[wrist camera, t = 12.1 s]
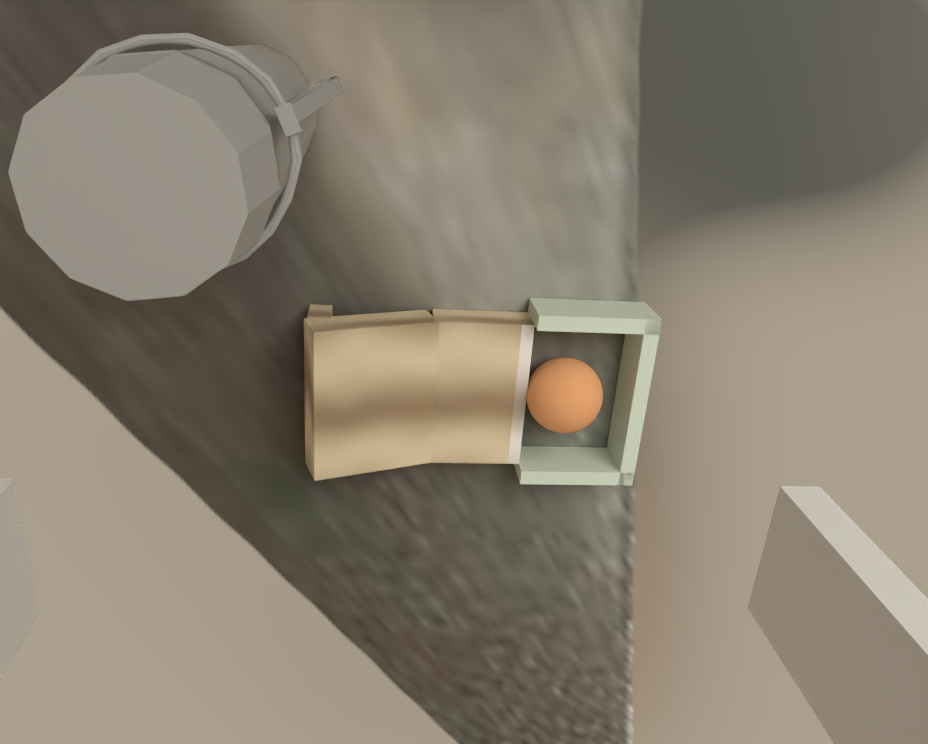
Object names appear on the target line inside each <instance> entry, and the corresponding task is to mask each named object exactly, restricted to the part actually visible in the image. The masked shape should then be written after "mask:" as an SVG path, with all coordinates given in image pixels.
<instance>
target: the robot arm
mask: <svg viewBox="0 0 928 744" xmlns="http://www.w3.org/2000/svg"><path fill="white" fill-rule="evenodd" d="M748 609H749V610H750V612H751V613H752V615H753V616H754V618H755V620H756V621H757V623H758V624H759V626H760V627H761V629H762V631H763V632H764V634H765V635H766V637H767V639H768V640H769V642H770V643H771V645H772V646H773V648H774V649H775V651H776V653H777V654H778V656H779V658H780V659H781V661H782V662H783V664H784V665H785V667H786V668H787V670H788V672H789V673H790V675H791V676H792V678H793V679H794V681H795V683H796V684H797V686H798V687H799V689H800V690H801V692H802V694H803V695H804V697H805V698H806V700H807V701H808V703H809V705H810V706H811V708H812V709H813V711H814V713H815V714H816V716H817V717H818V719H819V720H820V722H821V724H822V725H823V727H824V728H825V730H826V732H827V733H828V735H829V736H830V738H831V739H832V741H833V743H834V744H928V599H927V598H926V597H925V596H924V595H923V594H922V593H921V591H920V590H919V589H918V588H917V587H916V586H915V585H914V584H913V583H912V582H911V581H910V580H909V579H908V578H907V577H906V576H905V575H904V574H903V573H902V572H901V571H900V570H899V569H898V568H897V567H896V565H895V564H894V563H893V562H891V560H890V559H889V558H888V557H887V556H886V555H885V554H884V553H883V552H882V551H881V550H880V549H879V548H878V547H877V546H876V545H875V544H874V543H873V542H872V541H871V539H870V538H869V537H867V535H866V534H865V533H864V532H863V531H862V530H861V529H860V528H859V527H858V526H857V525H856V524H855V523H854V522H853V521H852V520H851V519H850V518H849V517H848V516H847V515H846V513H845V512H844V511H843V510H842V509H841V508H840V507H839V506H838V505H837V504H836V503H835V502H834V501H833V500H832V499H831V498H830V497H829V496H828V495H827V494H826V493H825V492H824V491H823V490H822V489H821V487H793V486H792V487H790V486H789V487H788V486H787V487H786V486H780V489H779V493H778V496H777V500H776V504H775V508H774V511H773V515H772V519H771V523H770V526H769V530H768V534H767V538H766V541H765V545H764V549H763V553H762V556H761V561H760V564H759V568H758V571H757V575H756V579H755V583H754V586H753V590H752V594H751V598H750V602H749V605H748ZM38 614H39V612H38V607H37V601H36V595H35V590H34V584H33V579H32V573H31V568H30V562H29V557H28V551H27V546H26V541H25V535H24V529H23V523H22V518H21V512H20V506H19V502H18V495H17V490H16V485H15V479H14V478H0V678H1V677H2V675H3V673H4V672H5V670H6V668H7V667H8V665H9V663H10V661H11V660H12V658H13V656H14V655H15V653H16V651H17V650H18V648H19V646H20V644H21V643H22V641H23V639H24V638H25V636H26V634H27V633H28V631H29V629H30V627H31V626H32V624H33V623H34V621H35V619H36V617H37V616H38Z"/></svg>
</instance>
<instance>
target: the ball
mask: <svg viewBox="0 0 928 744" xmlns="http://www.w3.org/2000/svg"><path fill="white" fill-rule="evenodd" d="M526 400H527V405H528V408H529V410H530V413H531V414H532V416H533V417H534V419H535V420H536V421H537V422H538V423H539V424H540V425H541V426H543V427H544V428H546V429H548V430H550V431H553V432H557V433H572V432H576V431H579V430H581V429H583V428H585V427H586V426H588V425H589V424H590V423H591V422H592V421H593V420H594V419H595V418H596V416H597V415H598V413H599V411H600V408H601V405H602V401H603V390H602V385H601V382H600V380H599V378H598V376H597V374H596V373H595V371H594V370H593V369H592V368H591V367H590V366H588V365H587V364H586V363H584V362H582V361H580V360H578V359H575V358H570V357H558V358H554V359H551V360H549V361H547V362H545V363H543V364H542V365H540V366H539V367H538V368H537V369H536V370H535V371H534V373H533V374H532V376H531V377H530V380H529V382H528V389H527V398H526Z"/></svg>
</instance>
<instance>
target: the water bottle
mask: <svg viewBox="0 0 928 744" xmlns="http://www.w3.org/2000/svg"><path fill="white" fill-rule="evenodd" d="M161 44H170V45H187V46H191V47H195V48H199V49H190V50H180V51H177V50H164V51H150V52H136V53H122V52H125V51H128V50H132V49H136V48H139V47H144V46H152V45H161ZM119 53H121V54H119ZM104 60H105V61H104ZM103 61H104V62H103ZM342 92H343V90H342V88H341V84H340V82H339V80H338V77H337V76H335V77H331V78H329V79H326V80H323V81H320V82H318V83H315V84H313V85H310V83H309V82H308V81H307V79H306V78H305V76H304V75H303V74H302V72H301V71H300V69H299V68H298V67H297V65H296V64H295V62H294V61H293V60H292V59H290V58H288V57H286V56H284V55H282V54H280V53H278V52H276V51H274V50H272V49H270V48H268V47H266V46H264V45H262V44H249V45H235V46H224V45H221V44H219V43H216V42H213V41H210V40H208V39H205V38H202V37H199V36H196V35H194V34H191V33H170V34H145V35H138V36H135V37H132V38H130V39H127V40H124V41H121V42H118V43H115V44H113V45H110V46H107V47H104V48H101V49H98V50H97V51H96V52H95V53H94V54H93V55H92V56H91V57H90V58H89V59H88V60H87V61H86V62H85V63H84V64H83V65H81V66H80V68H79V69H78V70H76V71H75V72H74V73H73V74H72V75H71V76H70V77H69V78H68V80H67V81H66V82H64V83H63V84H62V85H61V86H59V87H58V88H57V89H55V90H54V91H53V92H52V93H50V94H49V95H48V96H47V97H45V98H44V99H43V100H42V101H40V102H39V103H38V104H36V105H35V106H34V107H33V108H31V109H30V110H29V111H28V112H26V113H25V114H24V116H23V120H22V123H21V127H20V131H19V134H18V138H17V142H16V145H15V149H14V152H13V156H12V160H11V163H10V167H9V170H8V173H9V177H10V180H11V183H12V187H13V190H14V193H15V197H16V200H17V204H18V207H19V210H20V214H21V217H22V221H23V224H24V227H25V231H26V233H27V234H28V235H29V236H30V237H31V238H32V239H33V240H34V241H35V242H36V243H37V244H38V245H39V246H40V247H41V248H42V249H43V251H44V252H45V253H46V254H47V255H48V256H49V257H50V258H51V259H52V260H53V261H54V262H55V263H56V264H57V265H58V266H59V267H60V269H61V270H62V271H63V272H64V273H65V274H66V275H67V276H68V277H69V278H70V279H73V280H75V281H78V282H81V283H83V284H86V285H88V286H91V287H93V288H96V289H98V290H101V291H103V292H106V293H108V294H111V295H113V296H116V297H118V298H121V299H124V300H126V301H132V300H143V299H154V298H166V297H177V296H185V295H186V294H188V293H189V292H190V291H192V290H193V289H195V288H196V287H197V286H199V285H200V284H202V283H203V282H204V281H206V280H207V279H209V278H210V277H211V276H213V275H214V274H216V273H217V272H218V271H220V270H221V269H224V268H226V267H229V266H231V265H233V264H236V263H238V262H241V261H243V260H245V259H247V258H248V257H249V256H250V255H251V254H252V253H253V252H254V251H256V250H257V249H258V248H259V247H260V246H261V245H262V244H263V243H264V242H265V241H266V240H267V239H268V238H269V237H270V236H272V235H273V234H274V232H275V230H276V229H277V227H278V225H279V223H280V221H281V219H282V218H283V216H284V214H285V212H286V210H287V209H288V207H289V205H290V203H291V201H292V199H293V195H294V191H295V187H296V183H297V179H298V175H299V171H300V167H301V164H302V160H303V157H304V155H305V154H306V151H307V149H308V146H309V144H310V142H311V139H312V137H313V134H314V132H315V129H316V127H317V124H318V119H317V112H316V110H317V109H319V108H320V107H322V106H323V105H325V104H326V103H327V102H329V101H330V100H332V99H333V98H335V97H336V96H338V95H339V94H340V93H342ZM284 187H285V188H284ZM283 189H284V192H283V195H282V197H281V200H280V202H279V204H278V206H277V208H276V210H275V212H274V214H273V216H272V217H271V219H270V220H269V222H268V223H267V225H266V222H267V220H268V217H269V215H270V213H271V210H272V208H273V205H274V203H275V201H276V200H277V198H278V197H279V195H280V193H281V192H282V190H283ZM265 225H266V226H265ZM264 227H265V228H264Z"/></svg>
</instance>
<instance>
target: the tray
mask: <svg viewBox="0 0 928 744" xmlns="http://www.w3.org/2000/svg"><path fill="white" fill-rule="evenodd" d="M528 313H529V315H530V317H531V319H532V321H533V323H534V325H535V327H536V329H537V331H556V332H586V333H616V334H625V337H624V344H623V350H622V356H621V362H620V368H619V375H618V381H617V387H616V393H615V399H614V405H613V412H612V418H611V424H610V430H609V436H608V443H607V448H606V447H544V446H521V451H520V460H519V464H514V466H515V470H516V473H517V476H518V480H519V483H520V484H541V485H632V484H633V478H634V473H635V467H636V462H637V456H638V451H639V445H640V440H641V434H642V428H643V423H644V417H645V412H646V406H647V401H648V395H649V390H650V384H651V379H652V373H653V368H654V362H655V356H656V351H657V345H658V340H659V334H660V329H661V323H662V320H661V318H660V317H659V316H658V315H657V314H656V313H655V312H654V311H653V310H652V309H651V308H650V307H649V306H648V305H647V304H646V303H645V302H626V301H600V300H574V299H548V298H529V307H528Z"/></svg>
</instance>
